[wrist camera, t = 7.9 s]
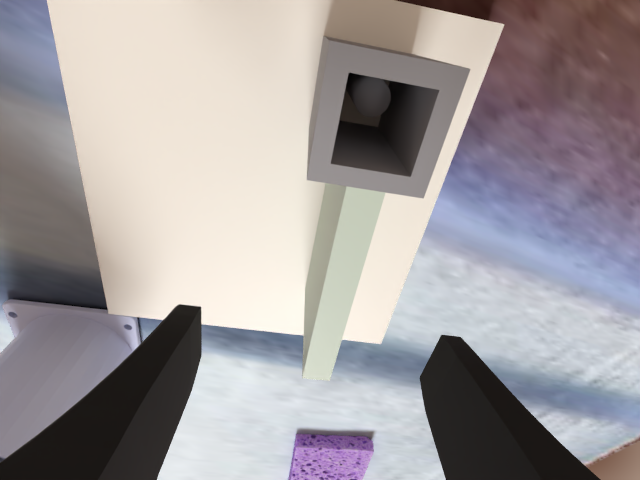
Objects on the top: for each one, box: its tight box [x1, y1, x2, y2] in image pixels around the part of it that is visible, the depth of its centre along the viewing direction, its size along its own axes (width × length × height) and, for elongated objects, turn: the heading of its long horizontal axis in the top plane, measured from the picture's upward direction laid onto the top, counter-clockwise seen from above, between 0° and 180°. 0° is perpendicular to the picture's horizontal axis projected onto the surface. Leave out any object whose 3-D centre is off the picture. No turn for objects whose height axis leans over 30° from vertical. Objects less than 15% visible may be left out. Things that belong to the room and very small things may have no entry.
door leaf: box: [302, 36, 470, 381], centre depth 14 cm, size 13×4×6 cm, turn 170°
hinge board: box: [47, 0, 504, 344], centre depth 16 cm, size 18×17×5 cm
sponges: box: [289, 434, 374, 480], centre depth 34 cm, size 7×13×2 cm, turn 173°
